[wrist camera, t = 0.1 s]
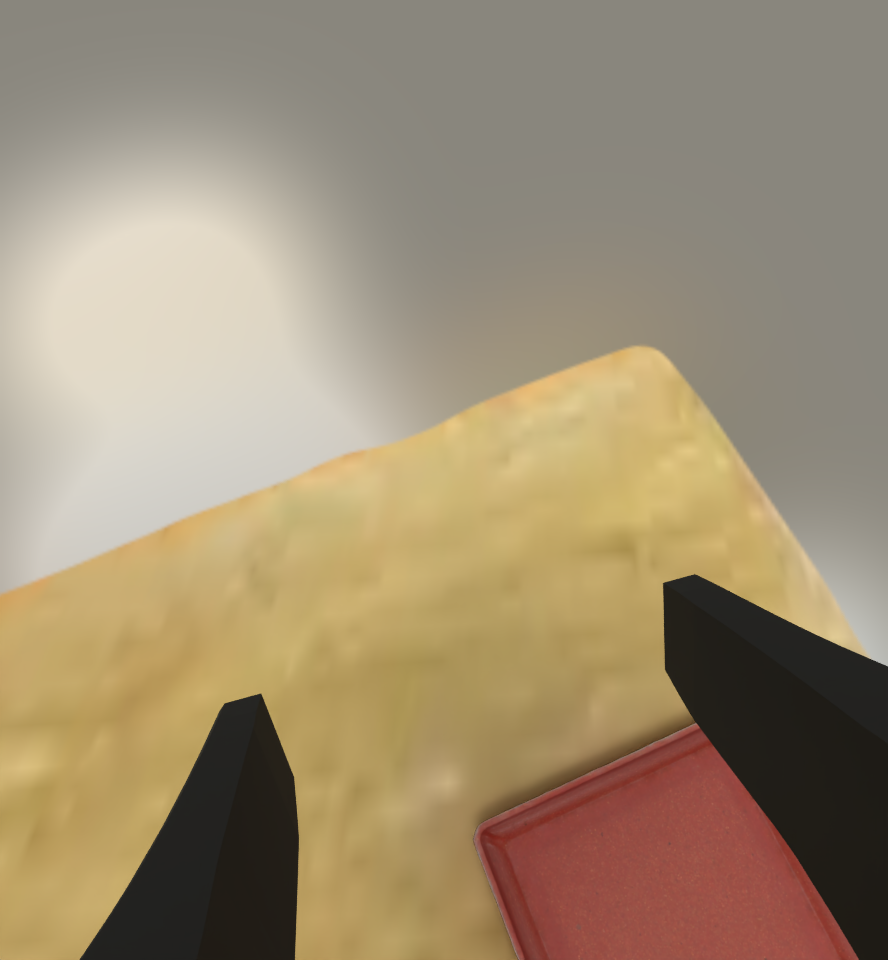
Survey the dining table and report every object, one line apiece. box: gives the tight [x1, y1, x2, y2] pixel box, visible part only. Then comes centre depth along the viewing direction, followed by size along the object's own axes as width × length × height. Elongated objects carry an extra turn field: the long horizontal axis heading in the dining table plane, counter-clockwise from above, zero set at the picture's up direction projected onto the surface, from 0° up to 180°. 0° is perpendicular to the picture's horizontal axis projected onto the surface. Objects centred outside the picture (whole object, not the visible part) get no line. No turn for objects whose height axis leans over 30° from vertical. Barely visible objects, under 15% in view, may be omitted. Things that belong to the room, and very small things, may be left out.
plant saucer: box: [473, 723, 859, 960], centre depth 37 cm, size 18×18×3 cm
